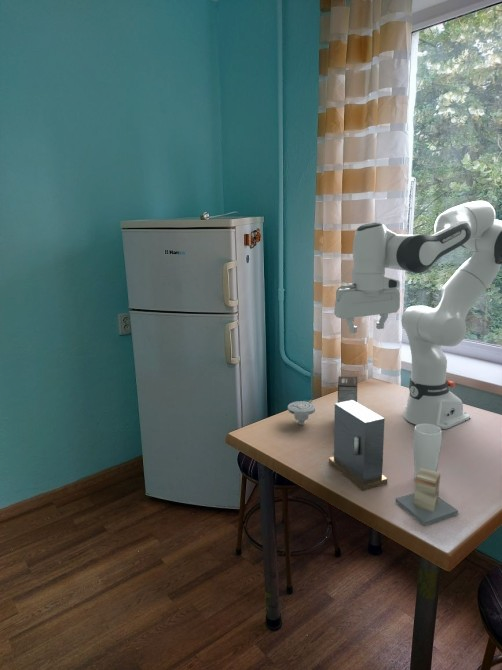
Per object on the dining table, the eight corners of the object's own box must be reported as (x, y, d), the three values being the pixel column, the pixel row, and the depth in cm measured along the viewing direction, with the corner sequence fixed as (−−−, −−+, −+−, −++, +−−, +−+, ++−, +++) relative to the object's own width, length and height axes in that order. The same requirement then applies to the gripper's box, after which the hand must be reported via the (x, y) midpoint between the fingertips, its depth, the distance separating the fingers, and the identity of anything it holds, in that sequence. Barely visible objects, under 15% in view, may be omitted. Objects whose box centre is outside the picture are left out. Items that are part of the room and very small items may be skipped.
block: (418, 496, 114) (420, 467, 112) (438, 502, 112) (440, 472, 110) (413, 505, 111) (415, 476, 109) (433, 512, 108) (435, 481, 106)
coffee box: (337, 418, 162) (338, 375, 159) (356, 419, 161) (357, 376, 157) (337, 430, 154) (337, 384, 150) (356, 431, 152) (357, 385, 149)
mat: (427, 492, 118) (427, 488, 117) (457, 514, 109) (458, 510, 108) (395, 502, 114) (395, 498, 114) (424, 525, 105) (425, 521, 105)
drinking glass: (424, 490, 119) (427, 436, 115) (405, 477, 125) (408, 426, 121) (443, 483, 121) (448, 431, 118) (424, 471, 127) (428, 421, 124)
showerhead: (322, 403, 158) (302, 411, 152) (321, 422, 160) (302, 431, 153) (302, 396, 165) (282, 403, 159) (302, 414, 167) (282, 423, 160)
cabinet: (352, 456, 136) (353, 398, 132) (387, 483, 122) (390, 419, 118) (328, 462, 133) (329, 403, 129) (361, 491, 119) (363, 425, 115)
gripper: (343, 286, 122) (342, 337, 126) (404, 281, 130) (402, 328, 133) (330, 284, 128) (329, 332, 131) (389, 278, 136) (387, 324, 139)
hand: (366, 330), depth 132 cm, fingers open, 8 cm apart
